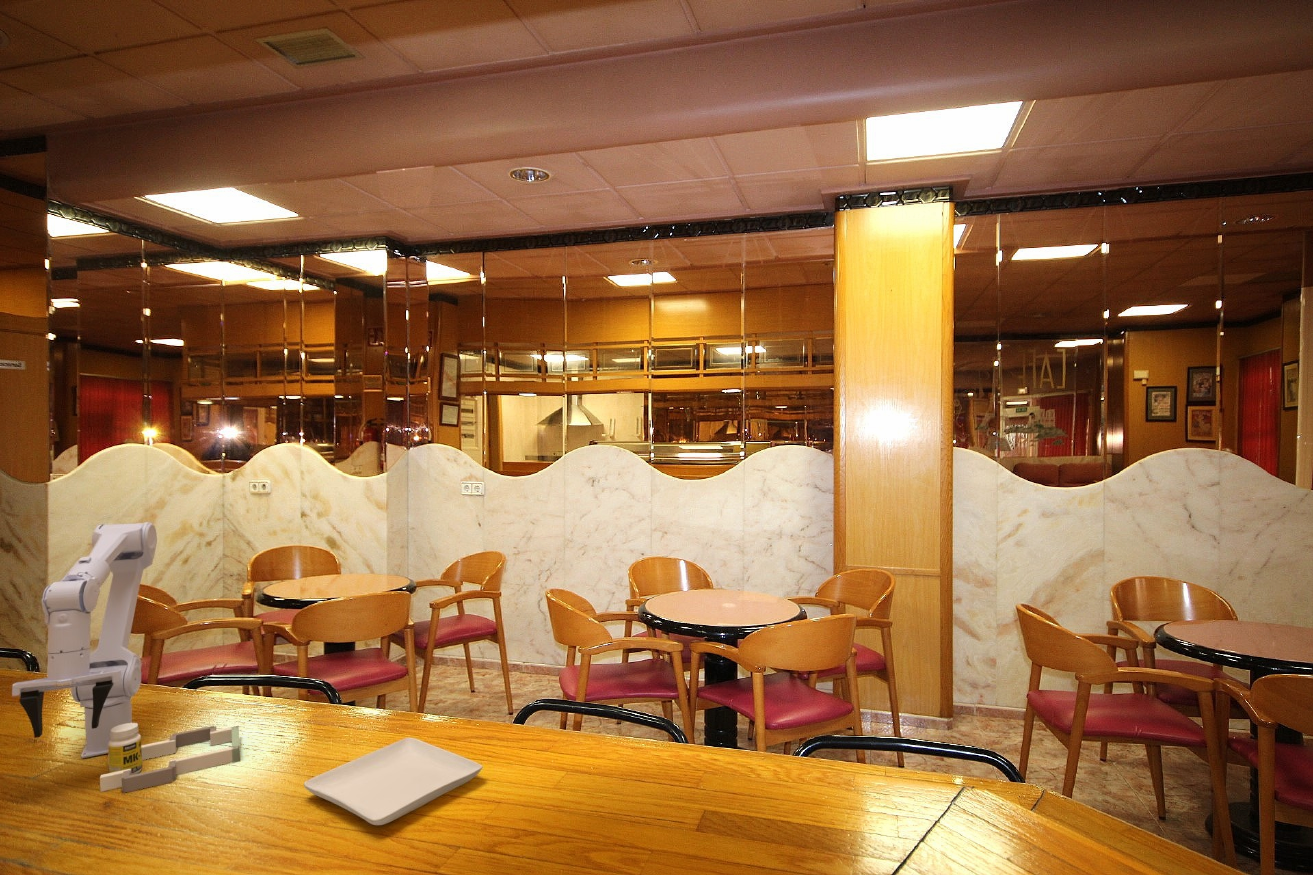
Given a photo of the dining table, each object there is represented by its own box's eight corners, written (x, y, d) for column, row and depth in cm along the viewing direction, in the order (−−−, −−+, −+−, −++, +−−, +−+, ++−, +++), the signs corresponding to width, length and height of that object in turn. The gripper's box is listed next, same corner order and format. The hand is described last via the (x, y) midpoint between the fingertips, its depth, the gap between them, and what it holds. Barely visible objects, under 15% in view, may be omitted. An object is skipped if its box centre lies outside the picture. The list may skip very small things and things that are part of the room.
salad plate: (409, 751, 138) (409, 733, 138) (486, 782, 126) (485, 763, 126) (300, 801, 121) (299, 781, 121) (376, 843, 108) (376, 821, 108)
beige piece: (111, 758, 136) (111, 746, 136) (238, 732, 147) (238, 720, 147) (98, 798, 122) (97, 784, 122) (240, 766, 132) (239, 753, 132)
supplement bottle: (124, 781, 128) (122, 733, 127) (102, 778, 129) (100, 731, 128) (149, 767, 132) (147, 722, 132) (127, 765, 133) (125, 720, 133)
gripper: (8, 659, 120) (5, 745, 118) (117, 647, 127) (116, 728, 126) (19, 654, 126) (16, 736, 124) (122, 642, 133) (121, 719, 132)
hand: (67, 731), depth 125 cm, fingers open, 7 cm apart
